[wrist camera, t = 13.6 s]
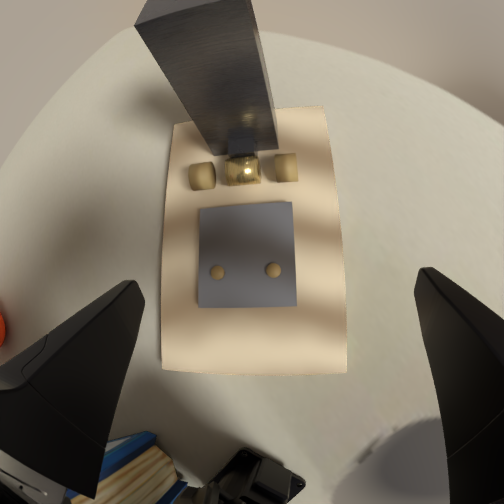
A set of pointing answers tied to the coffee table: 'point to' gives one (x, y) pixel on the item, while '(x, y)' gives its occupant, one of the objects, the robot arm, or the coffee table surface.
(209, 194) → the board
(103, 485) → the book
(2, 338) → the clementine
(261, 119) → the grey block
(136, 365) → the coffee table surface
